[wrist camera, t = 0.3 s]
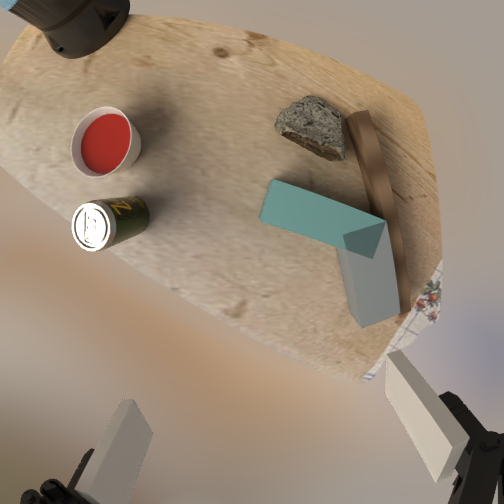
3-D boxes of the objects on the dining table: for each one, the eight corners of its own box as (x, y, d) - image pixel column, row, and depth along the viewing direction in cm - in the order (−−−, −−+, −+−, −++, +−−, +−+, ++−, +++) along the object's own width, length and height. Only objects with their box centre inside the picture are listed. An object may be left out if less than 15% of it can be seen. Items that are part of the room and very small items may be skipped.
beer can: (147, 238, 39) (108, 259, 27) (114, 230, 38) (67, 246, 27) (154, 200, 37) (116, 206, 26) (120, 193, 37) (73, 196, 25)
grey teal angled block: (249, 186, 37) (248, 186, 32) (355, 157, 36) (369, 153, 31) (293, 332, 41) (298, 349, 36) (386, 300, 40) (400, 313, 35)
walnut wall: (344, 119, 35) (354, 112, 31) (357, 116, 35) (367, 110, 31) (388, 305, 41) (399, 315, 37) (399, 300, 41) (411, 310, 37)
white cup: (102, 114, 35) (80, 105, 29) (156, 120, 35) (140, 109, 29) (88, 173, 37) (64, 172, 30) (141, 183, 37) (121, 183, 31)
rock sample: (366, 97, 31) (348, 119, 26) (358, 146, 37) (339, 177, 32) (293, 80, 35) (261, 98, 30) (292, 126, 41) (262, 152, 36)
